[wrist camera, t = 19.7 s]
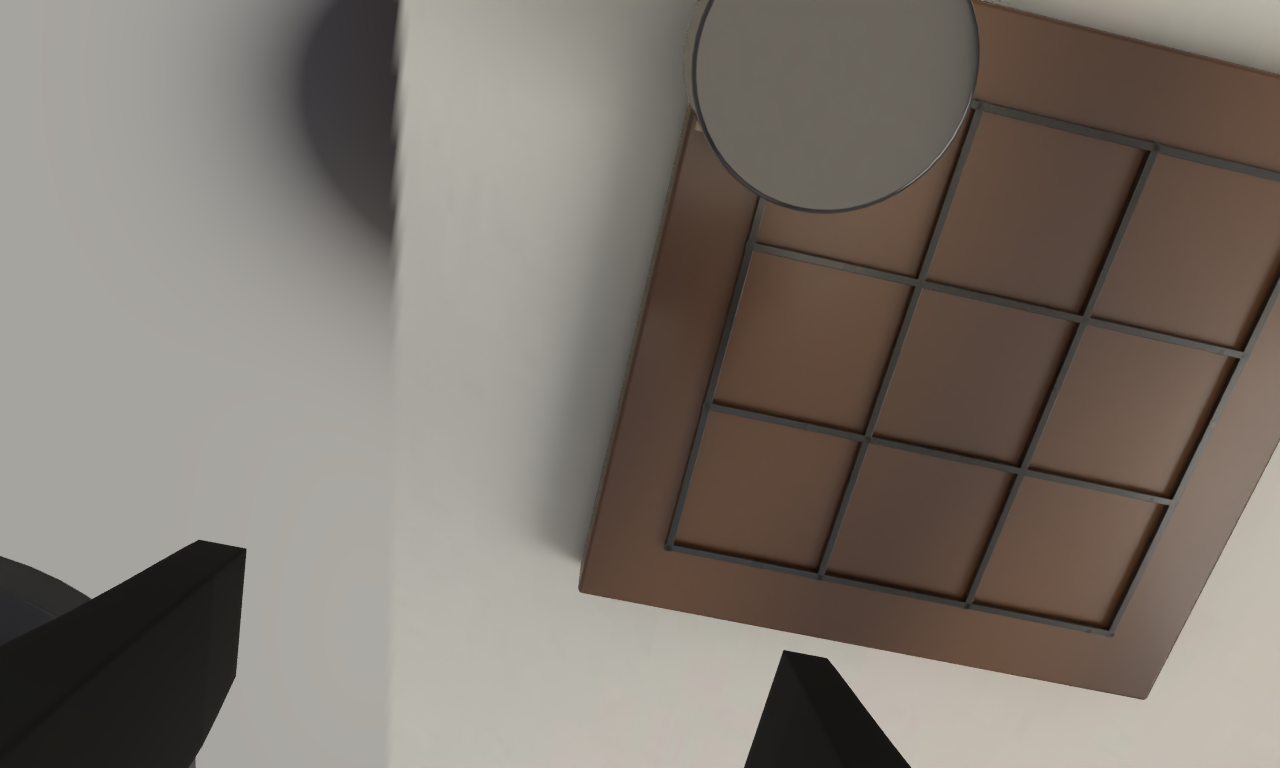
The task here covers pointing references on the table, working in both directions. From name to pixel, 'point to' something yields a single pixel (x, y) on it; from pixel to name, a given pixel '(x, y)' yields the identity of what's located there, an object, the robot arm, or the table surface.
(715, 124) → the dark grey cylinder
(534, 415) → the table surface
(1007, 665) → the board
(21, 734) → the robot arm
